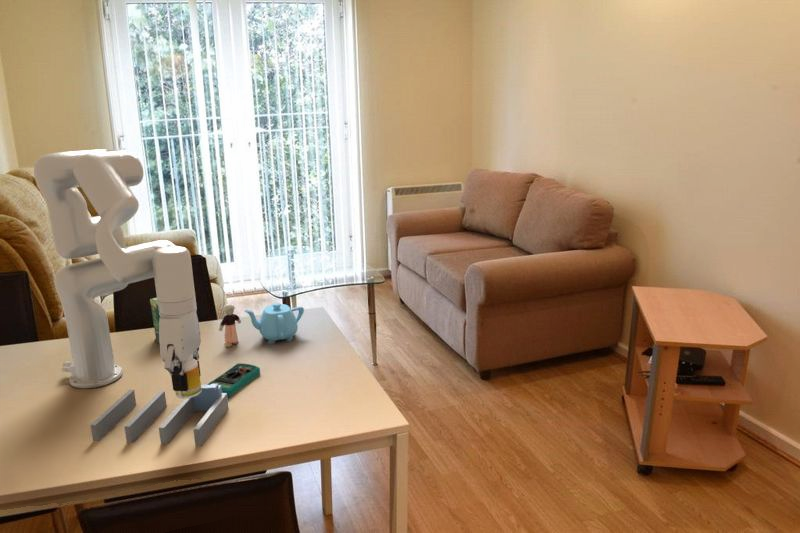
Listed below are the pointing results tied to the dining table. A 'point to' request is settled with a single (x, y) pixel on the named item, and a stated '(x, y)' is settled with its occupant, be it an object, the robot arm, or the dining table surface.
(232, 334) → the grandmother figurine
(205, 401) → the grey parallel walls
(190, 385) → the supplement bottle
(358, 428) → the dining table surface
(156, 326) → the coffee box
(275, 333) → the teapot
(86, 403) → the dining table surface
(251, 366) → the digital multimeter
